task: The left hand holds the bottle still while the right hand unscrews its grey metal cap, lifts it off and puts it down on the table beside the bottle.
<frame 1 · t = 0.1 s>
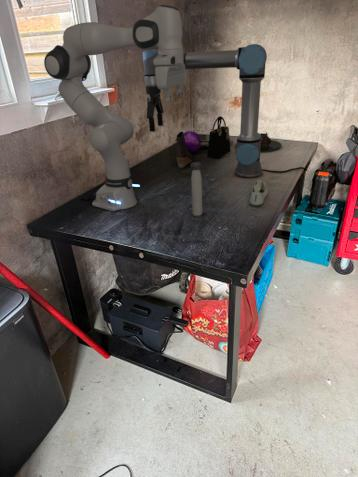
left hand: (173, 99, 127), 48 cm above the table, tool pointing down, fingers open, 8 cm apart
right hand: (156, 128, 177), 28 cm above the table, tool pointing down, fingers open, 13 cm apart
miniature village: (256, 146, 240), on the table
handbag: (219, 154, 227), on the table
boot: (185, 163, 214), on the table
decorative orb: (190, 153, 234), on the table
cap: (196, 164, 137), point 23 cm above the table, screwed on, not yet turned
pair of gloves: (209, 144, 252), on the table
ballet flat: (258, 197, 160), on the table
bottle: (197, 213, 148), on the table
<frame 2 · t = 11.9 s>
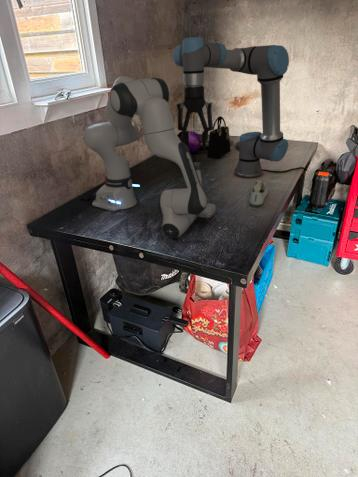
left hand: (197, 200, 146), 6 cm above the table, tool horizontal, fingers closed on bottle, 4 cm apart
right hand: (195, 148, 133), 30 cm above the table, tool pointing down, fingers open, 6 cm apart
bottle: (197, 213, 148), on the table, touching left hand
everything else where it was.
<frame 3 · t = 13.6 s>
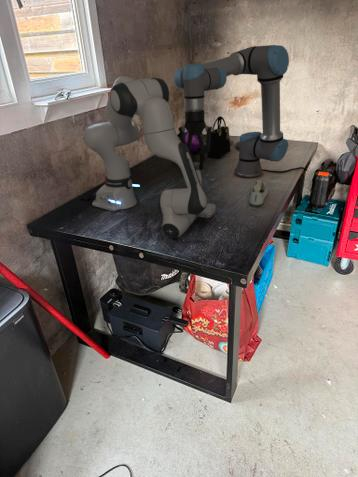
left hand: (197, 200, 146), 6 cm above the table, tool horizontal, fingers closed on bottle, 4 cm apart
right hand: (196, 168, 138), 21 cm above the table, tool pointing down, fingers closed on cap, 4 cm apart
cap: (196, 164, 137), point 23 cm above the table, screwed on, not yet turned, touching right hand
bottle: (197, 213, 148), on the table, touching left hand
everything else where it was.
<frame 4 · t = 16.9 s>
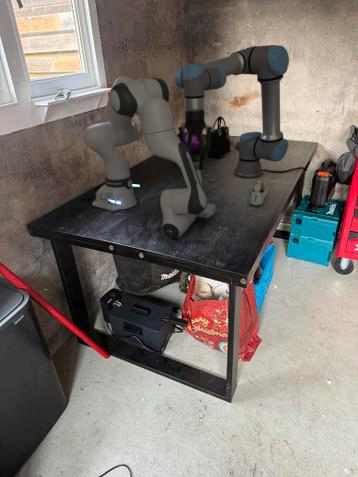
left hand: (197, 200, 146), 6 cm above the table, tool horizontal, fingers closed on bottle, 4 cm apart
right hand: (196, 168, 138), 21 cm above the table, tool pointing down, fingers closed on cap, 4 cm apart
cap: (196, 164, 137), point 23 cm above the table, turned 89° so far, risen 0.1 cm, still on its thread, touching right hand
bottle: (197, 213, 148), on the table, touching left hand
everything else where it was.
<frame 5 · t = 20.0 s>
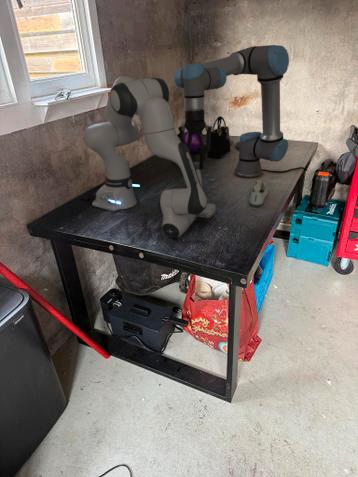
left hand: (197, 200, 146), 6 cm above the table, tool horizontal, fingers closed on bottle, 4 cm apart
right hand: (196, 168, 138), 21 cm above the table, tool pointing down, fingers closed on cap, 4 cm apart
cap: (196, 163, 137), point 23 cm above the table, turned 178° so far, risen 0.2 cm, still on its thread, touching right hand
bottle: (197, 213, 148), on the table, touching left hand
everything else where it was.
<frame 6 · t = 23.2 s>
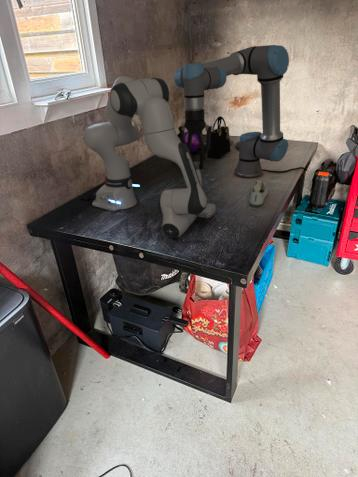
left hand: (197, 200, 146), 6 cm above the table, tool horizontal, fingers closed on bottle, 4 cm apart
right hand: (196, 168, 138), 21 cm above the table, tool pointing down, fingers closed on cap, 4 cm apart
cap: (196, 163, 137), point 23 cm above the table, turned 267° so far, risen 0.2 cm, still on its thread, touching right hand
bottle: (197, 213, 148), on the table, touching left hand
everything else where it was.
when the right hand's fingers open (1 cm above the table, at t = 36.0 s): cap drops 1 cm, point 2 cm above the table.
when the left hand's fingers open (6 cm above the table, at t = 37.2 s): bottle stays where it is, on the table.
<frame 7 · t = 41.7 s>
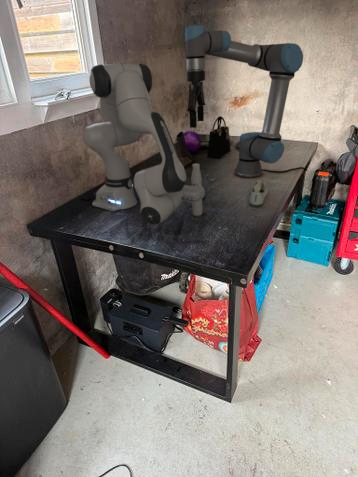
left hand: (185, 184, 129), 19 cm above the table, tool horizontal, fingers open, 8 cm apart
right hand: (197, 124, 145), 36 cm above the table, tool pointing down, fingers open, 13 cm apart
cap: (198, 194, 162), point 2 cm above the table, off its thread
bottle: (197, 213, 148), on the table
everything else where it was.
at the end: cap came off its thread; cap point 1.9 cm above the table; the left hand is holding nothing; the right hand is holding nothing; bottle tilted 0°; bottle moved 0.0 cm from its start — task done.
